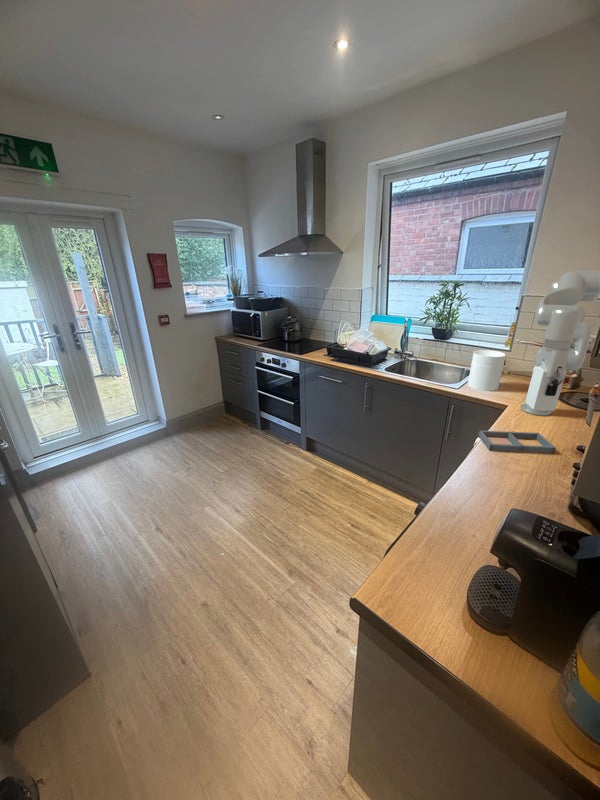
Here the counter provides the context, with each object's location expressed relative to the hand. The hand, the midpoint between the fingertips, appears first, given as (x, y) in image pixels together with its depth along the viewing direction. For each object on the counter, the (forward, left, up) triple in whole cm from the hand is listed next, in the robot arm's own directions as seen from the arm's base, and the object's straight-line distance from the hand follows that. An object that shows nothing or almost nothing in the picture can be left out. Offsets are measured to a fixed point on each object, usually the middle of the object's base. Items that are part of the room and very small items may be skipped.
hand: (543, 391), depth 121 cm
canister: (-69, +8, -23) cm, 73 cm away
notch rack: (0, -5, -23) cm, 23 cm away
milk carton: (0, 0, -7) cm, 7 cm away
